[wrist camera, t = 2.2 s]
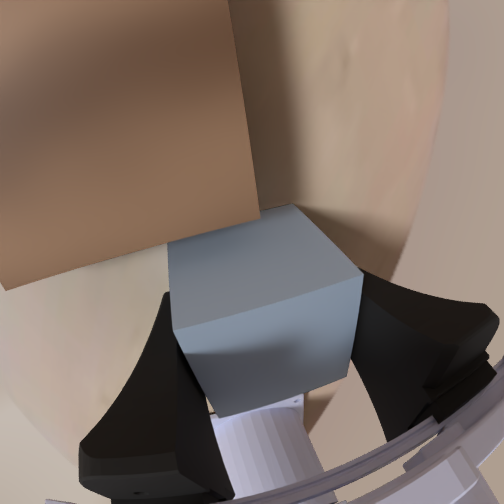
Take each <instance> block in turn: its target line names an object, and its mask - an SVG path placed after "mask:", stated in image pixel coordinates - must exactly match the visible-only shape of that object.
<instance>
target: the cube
mask: <svg viewBox="0 0 504 504" xmlns="http://www.w3.org/2000/svg"><path fill="white" fill-rule="evenodd" d="M260 218H261V219H257V220H253V221H249V222H245V223H241V224H237V225H233V226H229V227H225V228H221V229H217V230H213V231H209V232H206V233H202V234H198V235H194V236H190V237H187V238H183V239H179V240H175V241H172V242H168V243H167V245H168V270H169V288H170V302H171V315H172V327H173V332H174V334H175V336H176V338H177V341H178V343H179V345H180V347H181V349H182V351H183V353H184V355H185V357H186V359H187V361H188V363H189V365H190V367H191V369H192V371H193V373H194V374H195V376H196V378H197V380H198V382H199V384H200V386H201V388H202V390H203V391H204V393H205V395H206V397H207V399H208V400H209V402H210V404H211V406H212V407H213V409H214V411H215V413H216V414H217V416H218V418H219V419H220V418H224V417H228V416H232V415H236V414H240V413H243V412H247V411H250V410H254V409H257V408H261V407H264V406H267V405H271V404H274V403H277V402H280V401H283V400H286V399H289V398H292V397H295V396H298V395H300V394H303V393H306V392H309V391H311V390H314V389H317V388H319V387H322V386H325V385H327V384H330V383H332V382H335V381H337V380H339V379H342V378H344V377H346V376H347V372H348V367H349V363H350V358H351V353H352V348H353V342H354V337H355V331H356V325H357V319H358V313H359V306H360V299H361V292H362V284H363V276H364V274H363V273H362V272H361V271H360V270H359V269H358V268H357V267H356V266H355V265H354V263H353V262H352V261H351V260H350V259H349V258H348V257H347V256H346V255H345V254H344V253H343V252H342V251H341V250H340V249H339V248H338V247H337V246H336V245H335V244H334V243H333V242H332V241H331V240H330V239H329V238H328V237H327V236H326V235H325V234H324V233H323V232H322V231H321V230H320V229H319V228H318V227H317V226H316V225H315V224H314V223H313V222H312V221H311V220H310V219H309V218H308V217H307V216H306V215H304V214H303V213H302V212H301V211H300V210H299V209H298V208H297V207H296V206H295V205H294V204H289V205H284V206H280V207H276V208H271V209H267V210H263V211H260Z"/></svg>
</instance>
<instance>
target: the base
mask: <svg viewBox="0 0 504 504" xmlns="http://www.w3.org/2000/svg"><path fill="white" fill-rule="evenodd" d="M257 219H261V218H260V210H259V203H258V196H257V189H256V181H255V174H254V167H253V160H252V153H251V146H250V140H249V133H248V126H247V119H246V112H245V106H244V99H243V92H242V86H241V79H240V73H239V66H238V60H237V54H236V47H235V41H234V35H233V29H232V22H231V16H230V10H229V4H228V0H0V282H1V284H2V286H3V287H4V289H5V291H7V290H10V289H13V288H16V287H19V286H23V285H26V284H29V283H32V282H35V281H38V280H41V279H44V278H48V277H51V276H54V275H57V274H61V273H64V272H67V271H70V270H74V269H77V268H80V267H84V266H87V265H90V264H94V263H97V262H101V261H104V260H107V259H111V258H114V257H118V256H121V255H125V254H128V253H132V252H135V251H139V250H142V249H146V248H150V247H153V246H157V245H161V244H164V243H168V242H172V241H175V240H179V239H183V238H187V237H190V236H194V235H198V234H202V233H206V232H209V231H213V230H217V229H221V228H225V227H229V226H233V225H237V224H241V223H245V222H249V221H253V220H257Z"/></svg>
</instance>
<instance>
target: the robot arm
mask: <svg viewBox="0 0 504 504" xmlns="http://www.w3.org/2000/svg"><path fill="white" fill-rule="evenodd" d="M357 268H358V267H357ZM358 269H359V270H360V271H361V272H362V273H363V274H364V276H363V284H362V292H361V299H360V306H359V313H358V319H357V325H356V331H355V337H354V342H353V348H352V353H351V360H352V362H353V364H354V365H355V367H356V369H357V371H358V373H359V375H360V377H361V379H362V381H363V383H364V386H365V388H366V390H367V392H368V394H369V396H370V398H371V401H372V403H373V406H374V408H375V410H376V413H377V415H378V418H379V420H380V423H381V426H382V428H383V431H384V434H385V437H386V440H387V443H386V444H384V445H382V446H380V447H378V448H376V449H374V450H373V451H371V452H369V453H367V454H364V455H362V456H360V457H358V458H356V459H354V460H352V461H350V462H347V463H346V464H343V465H341V466H339V467H336V468H334V469H331V470H329V471H326V472H324V470H323V467H322V465H321V463H320V461H319V459H318V457H317V455H316V452H315V450H314V448H313V445H312V443H311V441H310V439H309V437H308V434H307V432H306V430H305V428H304V425H303V415H304V394H300V395H298V396H295V397H292V398H289V399H286V400H283V401H280V402H277V403H274V404H271V405H267V406H264V407H261V408H257V409H254V410H250V411H247V412H243V413H240V414H236V415H232V416H228V417H224V418H220V419H219V418H218V416H217V414H213V415H210V414H209V410H208V406H207V401H206V395H205V393H204V391H203V390H202V388H201V386H200V384H199V382H198V380H197V378H196V376H195V374H194V373H193V371H192V369H191V367H190V365H189V363H188V361H187V359H186V357H185V355H184V353H183V351H182V349H181V347H180V345H179V343H178V341H177V338H176V336H175V334H174V332H173V327H172V315H171V302H170V291H169V292H165V293H164V295H163V298H162V301H161V305H160V308H159V311H158V314H157V317H156V320H155V322H154V325H153V328H152V330H151V333H150V336H149V338H148V340H147V343H146V345H145V347H144V349H143V352H142V354H141V356H140V358H139V360H138V362H137V364H136V366H135V368H134V370H133V372H132V374H131V376H130V377H129V379H128V381H127V382H126V384H125V386H124V387H123V389H122V391H121V392H120V394H119V395H118V397H117V398H116V400H115V401H114V403H113V404H112V405H111V407H110V408H109V409H108V411H107V412H106V413H105V415H104V416H103V417H102V419H101V420H100V421H99V422H98V423H97V425H96V426H95V427H94V428H93V429H92V430H91V431H90V432H89V433H88V434H87V436H86V437H85V438H84V439H83V440H82V441H81V442H80V445H79V482H80V484H81V485H83V487H85V488H86V489H88V490H90V491H93V492H95V493H97V494H100V495H102V496H105V497H107V498H110V499H111V504H335V503H337V502H338V500H337V498H336V496H335V493H334V491H333V490H336V489H338V488H340V487H343V486H345V485H348V484H349V483H352V482H354V481H356V480H358V479H360V478H363V477H365V476H367V475H369V474H371V473H373V472H375V471H377V470H378V469H380V468H382V467H384V466H386V465H388V464H390V463H391V462H393V461H395V460H397V459H398V458H400V457H402V456H403V455H405V454H407V453H408V452H410V451H412V450H413V449H415V448H416V447H418V446H420V445H421V444H423V443H424V442H426V441H427V440H428V439H430V438H432V437H433V436H434V435H436V434H437V433H438V435H437V437H436V438H434V439H433V440H432V441H430V442H429V443H428V444H427V445H425V446H424V447H422V448H421V449H420V450H419V452H418V453H417V454H415V455H414V456H413V457H412V458H411V459H409V460H408V461H407V462H405V463H404V464H403V468H404V469H405V471H406V473H404V474H403V475H401V476H399V477H397V478H396V479H394V480H392V481H390V482H388V483H387V484H385V485H383V486H381V487H379V488H377V489H375V490H373V491H371V492H369V493H367V494H365V495H363V496H361V497H359V498H357V499H355V500H353V501H350V502H348V503H347V501H346V500H344V501H342V502H340V503H337V504H499V503H498V501H497V499H496V497H495V496H494V494H493V492H492V490H491V489H490V487H489V485H488V484H487V482H486V480H485V479H484V477H483V476H482V474H481V472H480V471H479V469H478V467H479V466H480V465H481V464H482V463H483V461H485V460H486V459H487V458H488V456H489V455H490V454H491V453H492V452H493V451H494V450H495V449H496V448H497V447H498V446H499V444H500V443H501V442H502V441H503V440H504V356H503V358H502V359H501V360H500V361H499V362H498V363H497V364H496V365H495V366H494V367H492V366H491V365H490V364H489V363H488V361H487V360H488V359H489V354H487V352H486V351H485V350H486V348H487V346H488V345H489V343H490V341H491V340H492V338H493V336H494V335H495V333H496V331H497V329H498V326H499V318H498V316H497V315H496V314H495V313H494V312H493V311H492V310H491V309H490V308H489V307H488V306H487V305H486V304H483V303H471V302H461V301H455V300H449V299H444V298H439V297H435V296H431V295H427V294H423V293H420V292H416V291H413V290H410V289H407V288H404V287H401V286H398V285H396V284H393V283H391V282H388V281H386V280H384V279H382V278H379V277H377V276H375V275H373V274H371V273H368V272H366V271H364V270H362V269H360V268H358ZM45 504H75V503H71V502H64V501H57V500H50V499H46V500H45Z"/></svg>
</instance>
